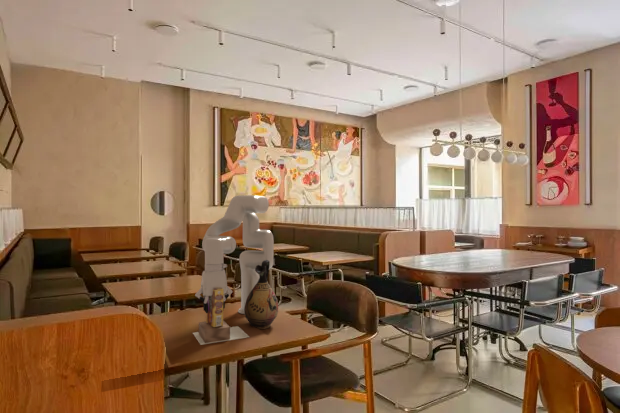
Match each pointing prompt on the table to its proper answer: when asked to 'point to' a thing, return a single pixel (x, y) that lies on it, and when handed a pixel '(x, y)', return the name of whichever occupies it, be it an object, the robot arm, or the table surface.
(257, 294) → the ceramic jug
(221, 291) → the candy box
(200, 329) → the walnut block
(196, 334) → the baseplate
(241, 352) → the table surface
